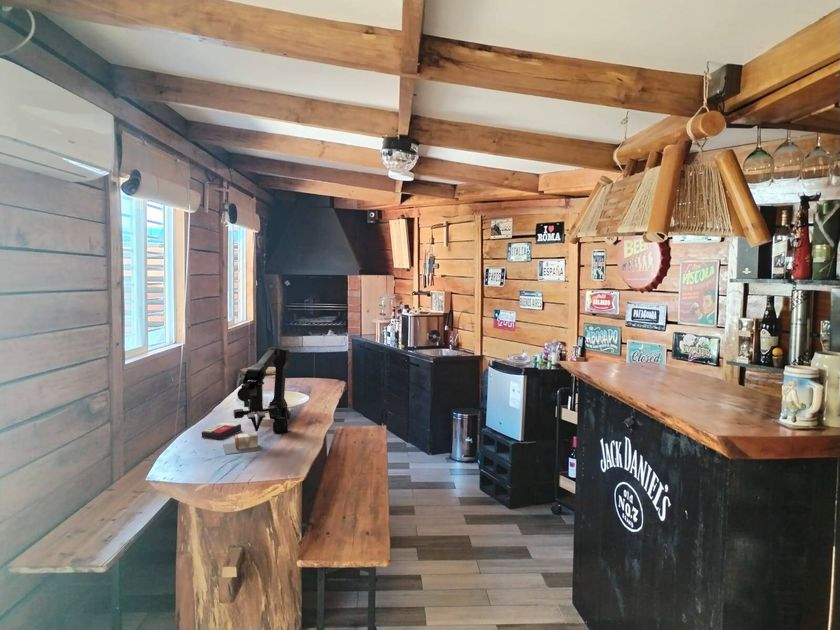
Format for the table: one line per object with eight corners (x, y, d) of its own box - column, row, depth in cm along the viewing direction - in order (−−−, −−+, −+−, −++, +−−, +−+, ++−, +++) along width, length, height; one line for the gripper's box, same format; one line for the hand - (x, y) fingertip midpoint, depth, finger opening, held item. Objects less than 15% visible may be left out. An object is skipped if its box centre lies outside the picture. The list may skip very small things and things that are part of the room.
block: (256, 432, 236) (234, 434, 233) (257, 435, 232) (236, 438, 228) (256, 443, 237) (235, 446, 233) (257, 446, 232) (236, 449, 229)
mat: (253, 441, 241) (253, 440, 241) (257, 450, 228) (257, 449, 228) (223, 445, 235) (223, 444, 235) (225, 454, 223) (225, 454, 223)
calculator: (200, 430, 246) (222, 420, 260) (201, 439, 247) (222, 429, 261) (220, 432, 243) (241, 422, 257) (221, 441, 243) (241, 431, 257)
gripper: (274, 390, 244) (274, 424, 245) (231, 394, 236) (232, 428, 237) (278, 395, 234) (279, 430, 235) (234, 399, 226) (235, 435, 227)
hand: (256, 431), depth 234 cm, fingers closed
